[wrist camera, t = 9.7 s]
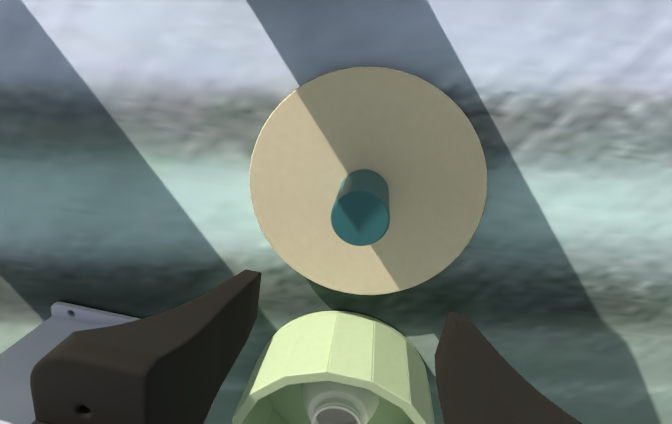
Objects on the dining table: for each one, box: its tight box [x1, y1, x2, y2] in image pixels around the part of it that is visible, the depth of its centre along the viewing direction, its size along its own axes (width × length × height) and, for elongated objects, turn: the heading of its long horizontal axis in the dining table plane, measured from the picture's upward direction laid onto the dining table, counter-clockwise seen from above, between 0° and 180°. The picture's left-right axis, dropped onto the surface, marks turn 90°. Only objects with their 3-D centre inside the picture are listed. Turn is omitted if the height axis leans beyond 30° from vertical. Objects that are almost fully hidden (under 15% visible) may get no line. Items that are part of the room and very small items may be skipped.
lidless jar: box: [302, 381, 379, 424], centre depth 25 cm, size 5×3×5 cm
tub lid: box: [249, 66, 487, 295], centre depth 19 cm, size 13×13×5 cm
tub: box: [232, 311, 435, 424], centre depth 24 cm, size 12×12×6 cm
